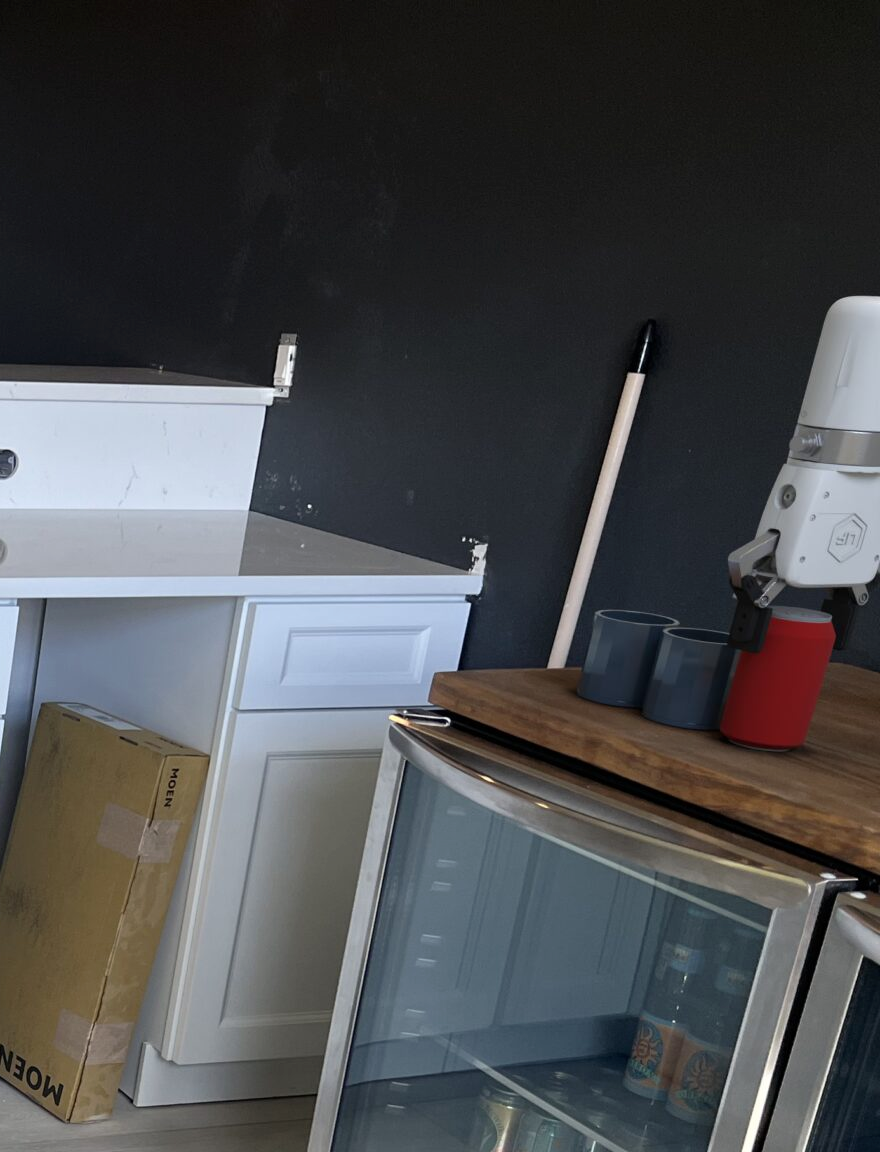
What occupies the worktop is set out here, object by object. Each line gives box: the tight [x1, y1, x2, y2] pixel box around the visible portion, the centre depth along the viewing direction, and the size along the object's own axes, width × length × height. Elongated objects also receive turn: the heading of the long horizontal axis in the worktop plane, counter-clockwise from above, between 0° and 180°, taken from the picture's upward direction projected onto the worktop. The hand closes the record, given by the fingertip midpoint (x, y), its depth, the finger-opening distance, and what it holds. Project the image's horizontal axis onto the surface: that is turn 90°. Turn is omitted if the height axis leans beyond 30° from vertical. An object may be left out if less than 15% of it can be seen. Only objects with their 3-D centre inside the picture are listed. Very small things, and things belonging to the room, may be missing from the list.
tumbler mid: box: [641, 627, 741, 731], centre depth 175 cm, size 7×7×8 cm
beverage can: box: [719, 605, 836, 752], centre depth 167 cm, size 7×7×12 cm
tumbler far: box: [576, 609, 681, 709], centre depth 182 cm, size 7×7×8 cm
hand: (786, 648), depth 166 cm, fingers open, 9 cm apart
